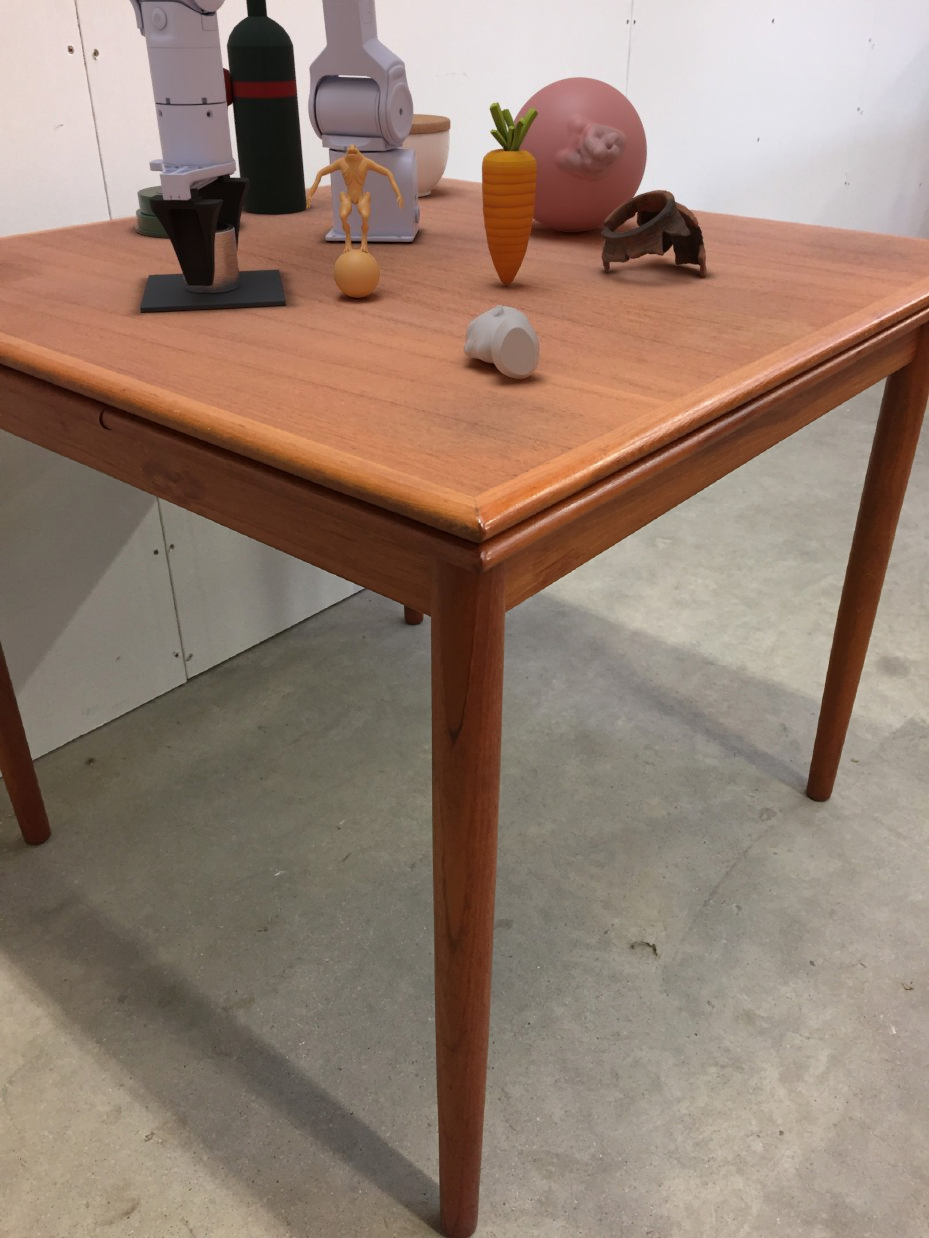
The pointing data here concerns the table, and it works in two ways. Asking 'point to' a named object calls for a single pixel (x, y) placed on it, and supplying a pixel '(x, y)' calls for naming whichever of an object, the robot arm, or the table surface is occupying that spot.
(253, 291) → the mat
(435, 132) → the lidded bowl
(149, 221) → the green stepped puck
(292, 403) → the table surface
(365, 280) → the figurine
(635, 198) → the broken pot rim
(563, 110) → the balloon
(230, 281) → the silver cup
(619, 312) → the table surface
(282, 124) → the wine bottle
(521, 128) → the carrot
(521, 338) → the pale two-lobed sculpture
